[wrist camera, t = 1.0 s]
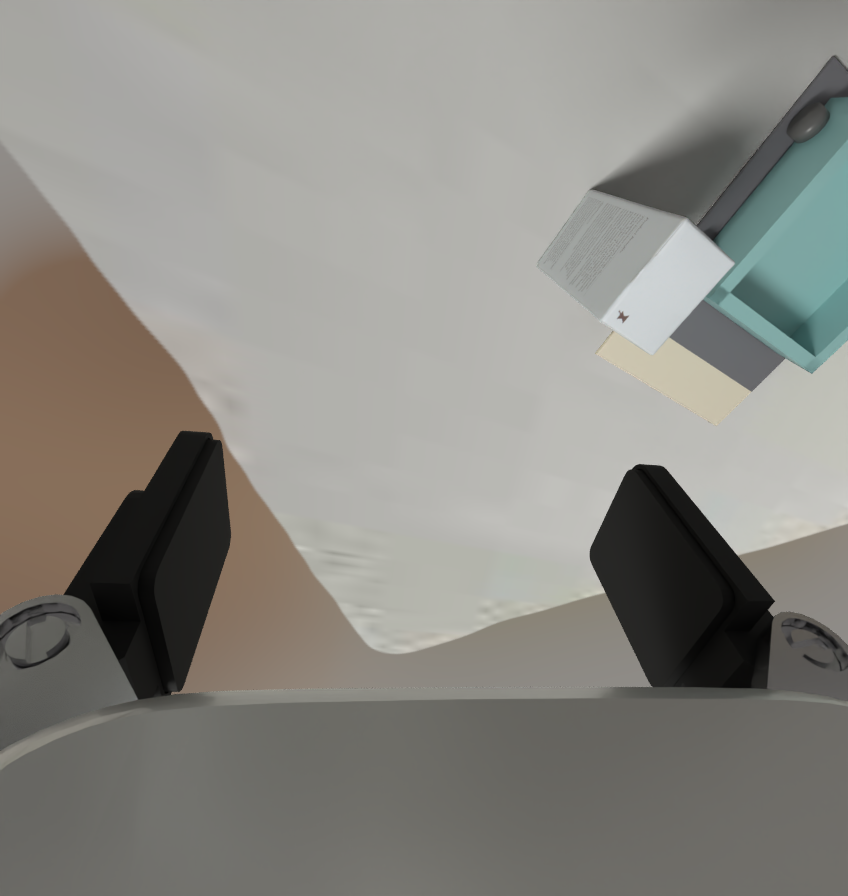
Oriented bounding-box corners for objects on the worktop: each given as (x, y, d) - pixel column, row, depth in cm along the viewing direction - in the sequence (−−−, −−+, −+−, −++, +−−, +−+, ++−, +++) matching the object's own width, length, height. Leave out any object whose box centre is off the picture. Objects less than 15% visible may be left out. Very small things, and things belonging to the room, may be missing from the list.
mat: (832, 56, 30) (834, 56, 30) (950, 192, 35) (953, 193, 35) (595, 353, 40) (596, 354, 40) (715, 425, 45) (716, 426, 45)
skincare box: (576, 295, 37) (651, 360, 27) (533, 265, 35) (596, 322, 26) (634, 221, 34) (740, 263, 24) (590, 185, 33) (685, 214, 23)
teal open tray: (819, 85, 30) (874, 82, 27) (935, 211, 35) (992, 221, 32) (667, 274, 36) (697, 289, 33) (784, 359, 41) (820, 380, 38)
